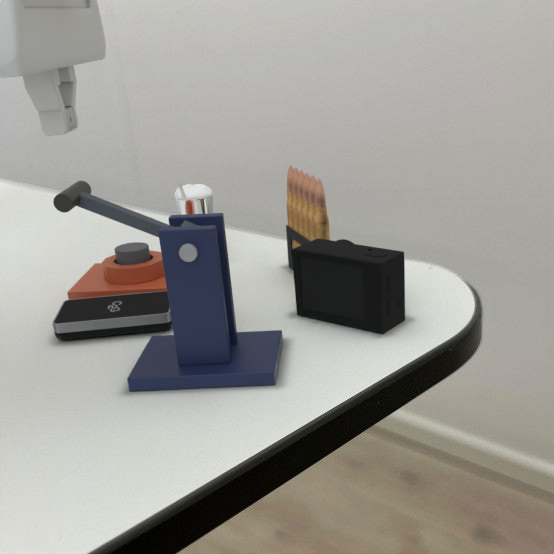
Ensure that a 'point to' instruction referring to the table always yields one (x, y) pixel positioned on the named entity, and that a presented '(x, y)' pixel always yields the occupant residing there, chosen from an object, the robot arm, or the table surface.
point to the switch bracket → (203, 318)
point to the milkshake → (194, 199)
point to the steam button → (132, 253)
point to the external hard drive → (113, 315)
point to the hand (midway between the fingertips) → (61, 132)
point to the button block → (121, 278)
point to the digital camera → (350, 284)
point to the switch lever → (107, 209)
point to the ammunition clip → (305, 211)
